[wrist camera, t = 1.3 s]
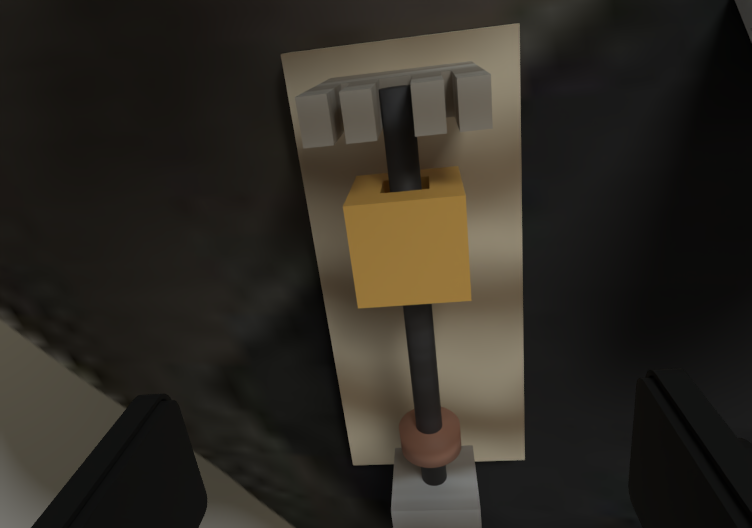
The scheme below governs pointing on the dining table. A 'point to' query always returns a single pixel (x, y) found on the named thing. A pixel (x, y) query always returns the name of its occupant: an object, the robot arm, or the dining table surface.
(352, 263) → the sleeve
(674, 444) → the robot arm
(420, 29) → the dining table surface
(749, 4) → the coffee box
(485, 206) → the cord rig
